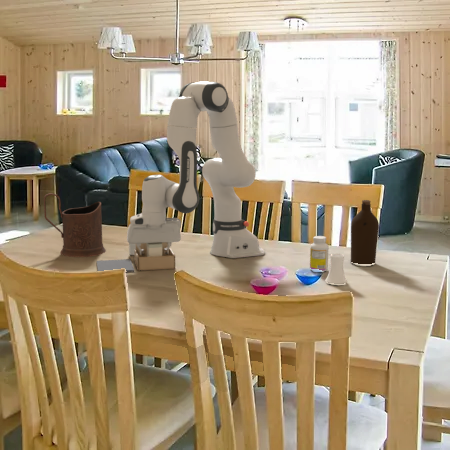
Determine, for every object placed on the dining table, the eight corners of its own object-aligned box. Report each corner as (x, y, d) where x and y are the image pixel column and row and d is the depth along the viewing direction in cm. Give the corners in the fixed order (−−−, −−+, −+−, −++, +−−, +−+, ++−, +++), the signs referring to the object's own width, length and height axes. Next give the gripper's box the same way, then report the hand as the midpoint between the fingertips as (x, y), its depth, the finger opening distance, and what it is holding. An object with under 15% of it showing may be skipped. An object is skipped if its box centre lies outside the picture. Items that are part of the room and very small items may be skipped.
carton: (170, 259, 241) (170, 235, 239) (175, 268, 228) (175, 242, 226) (134, 261, 237) (134, 236, 235) (138, 270, 225) (137, 244, 223)
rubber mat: (130, 261, 239) (130, 259, 238) (134, 272, 223) (134, 269, 223) (96, 262, 236) (96, 260, 235) (98, 273, 220) (98, 271, 220)
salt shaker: (347, 280, 215) (349, 253, 213) (346, 286, 208) (347, 258, 206) (326, 279, 217) (327, 251, 215) (324, 285, 210) (325, 257, 208)
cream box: (160, 262, 237) (159, 240, 235) (162, 267, 230) (162, 244, 228) (146, 263, 236) (146, 240, 234) (149, 268, 229) (148, 244, 227)
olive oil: (381, 266, 235) (385, 202, 230) (357, 268, 232) (360, 203, 227) (367, 259, 245) (371, 198, 240) (344, 261, 242) (347, 199, 237)
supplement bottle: (315, 267, 232) (316, 234, 230) (330, 270, 228) (332, 237, 226) (306, 270, 227) (307, 237, 225) (321, 274, 223) (323, 240, 220)
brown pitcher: (109, 255, 248) (108, 194, 243) (48, 260, 239) (45, 197, 234) (101, 245, 265) (99, 188, 260) (44, 249, 256) (41, 190, 251)
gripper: (179, 215, 235) (179, 250, 237) (126, 217, 230) (126, 253, 232) (182, 218, 229) (182, 254, 231) (127, 220, 224) (128, 257, 226)
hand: (154, 253), depth 232 cm, fingers open, 8 cm apart
